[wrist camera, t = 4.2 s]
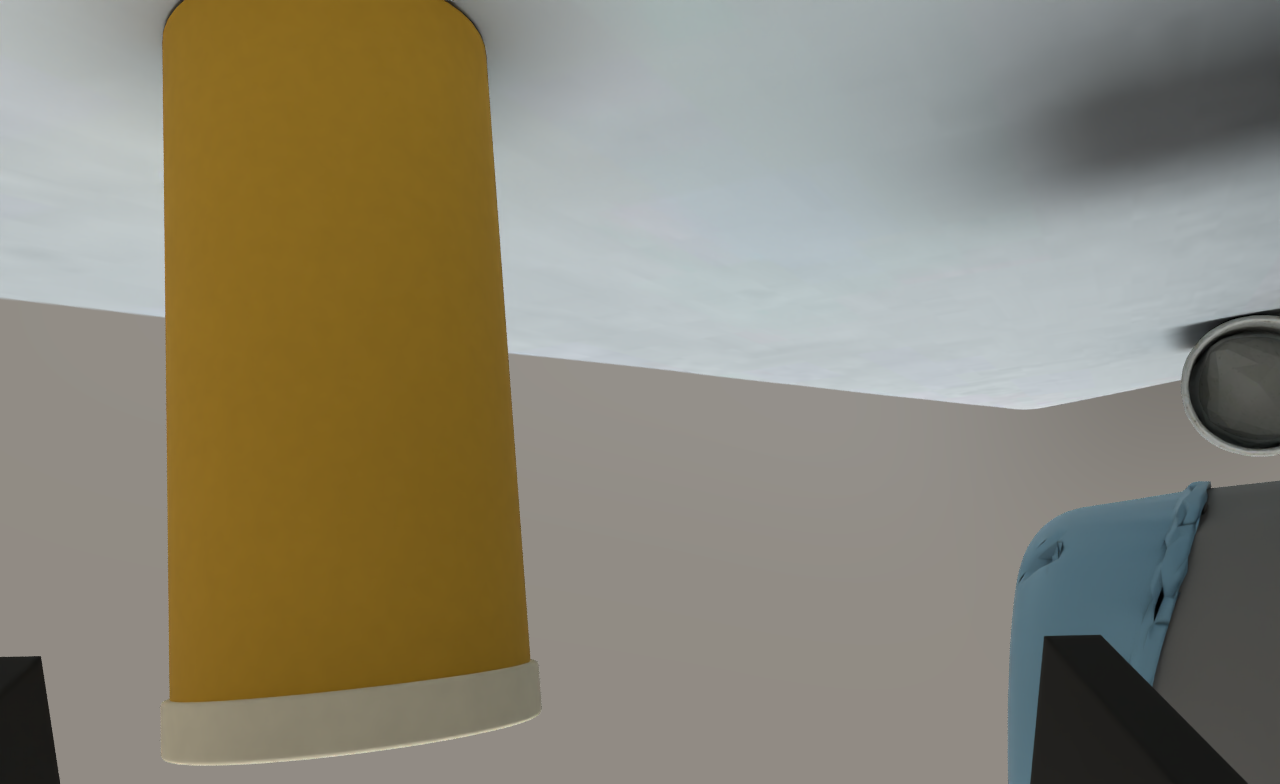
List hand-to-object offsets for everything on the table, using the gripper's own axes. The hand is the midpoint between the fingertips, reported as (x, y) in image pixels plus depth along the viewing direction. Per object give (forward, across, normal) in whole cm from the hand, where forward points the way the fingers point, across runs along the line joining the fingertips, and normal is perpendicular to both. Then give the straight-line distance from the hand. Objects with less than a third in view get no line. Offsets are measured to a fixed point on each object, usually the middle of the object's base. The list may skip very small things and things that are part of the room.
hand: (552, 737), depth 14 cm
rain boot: (+16, -6, +7) cm, 18 cm away
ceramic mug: (+46, +39, -3) cm, 61 cm away
